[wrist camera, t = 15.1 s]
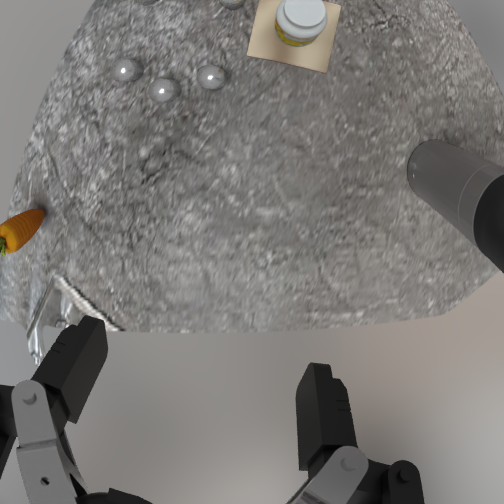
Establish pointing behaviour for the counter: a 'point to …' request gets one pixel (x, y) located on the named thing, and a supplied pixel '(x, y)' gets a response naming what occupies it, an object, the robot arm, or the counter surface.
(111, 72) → the spacer posts
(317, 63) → the pad
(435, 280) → the counter surface
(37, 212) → the carrot
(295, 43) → the supplement bottle
